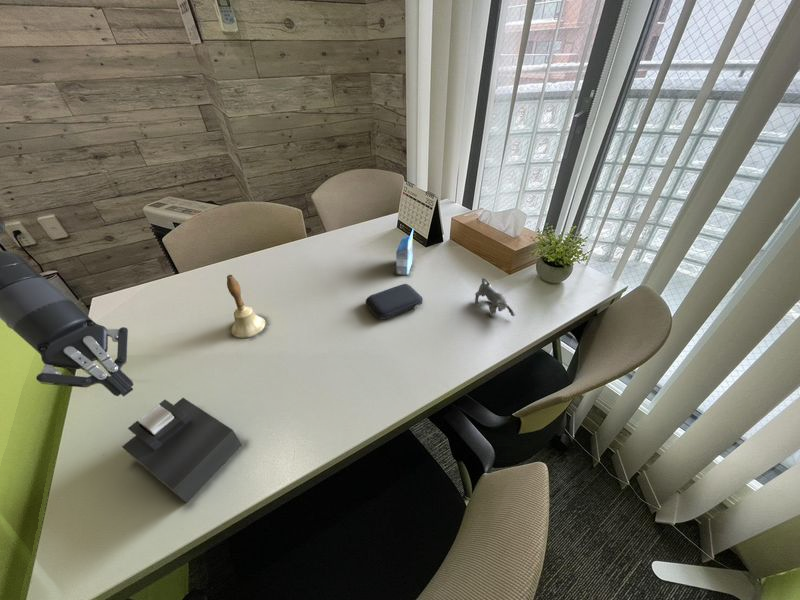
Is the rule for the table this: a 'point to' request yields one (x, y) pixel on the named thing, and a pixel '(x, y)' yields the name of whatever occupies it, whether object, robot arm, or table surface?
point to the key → (156, 419)
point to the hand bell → (243, 313)
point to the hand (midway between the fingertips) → (128, 392)
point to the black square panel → (183, 448)
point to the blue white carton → (404, 255)
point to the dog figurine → (492, 298)
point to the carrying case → (394, 301)
